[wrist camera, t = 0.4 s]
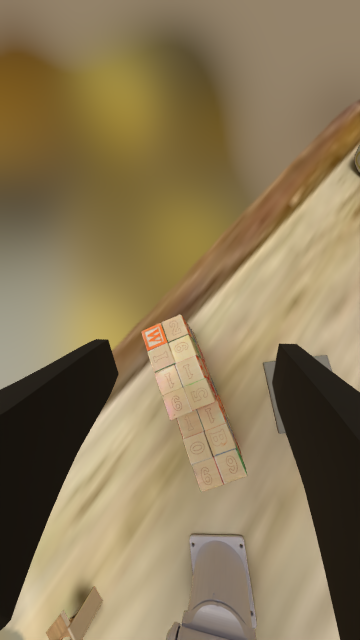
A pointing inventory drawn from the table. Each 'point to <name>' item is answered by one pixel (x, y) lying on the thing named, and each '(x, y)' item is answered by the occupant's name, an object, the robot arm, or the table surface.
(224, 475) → the stack of blocks
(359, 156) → the air freshener
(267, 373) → the slate mat
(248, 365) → the table surface
